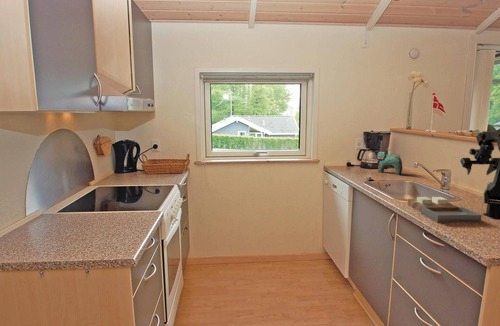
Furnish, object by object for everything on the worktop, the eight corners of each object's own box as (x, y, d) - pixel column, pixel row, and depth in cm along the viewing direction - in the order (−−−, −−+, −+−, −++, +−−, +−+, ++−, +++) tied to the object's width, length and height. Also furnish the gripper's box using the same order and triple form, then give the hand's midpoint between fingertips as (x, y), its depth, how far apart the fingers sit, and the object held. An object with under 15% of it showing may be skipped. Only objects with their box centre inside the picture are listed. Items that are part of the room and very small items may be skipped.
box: (480, 222, 142) (481, 215, 142) (437, 222, 142) (438, 215, 141) (460, 213, 155) (461, 206, 155) (421, 213, 154) (421, 206, 154)
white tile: (447, 204, 160) (447, 199, 160) (437, 204, 160) (438, 199, 159) (441, 201, 165) (441, 196, 165) (431, 201, 165) (432, 196, 164)
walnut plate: (458, 213, 155) (459, 207, 155) (422, 213, 155) (423, 207, 154) (440, 204, 169) (441, 199, 168) (407, 205, 168) (408, 199, 168)
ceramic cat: (375, 172, 261) (377, 148, 257) (379, 171, 265) (381, 147, 262) (399, 175, 246) (401, 150, 242) (403, 174, 250) (405, 149, 247)
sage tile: (431, 204, 160) (432, 199, 159) (422, 204, 160) (422, 199, 159) (426, 201, 165) (426, 196, 164) (416, 201, 165) (417, 196, 164)
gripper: (500, 143, 171) (491, 165, 181) (460, 143, 176) (454, 165, 186) (508, 155, 163) (498, 178, 172) (466, 155, 168) (459, 177, 177)
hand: (477, 174), depth 177 cm, fingers open, 9 cm apart
